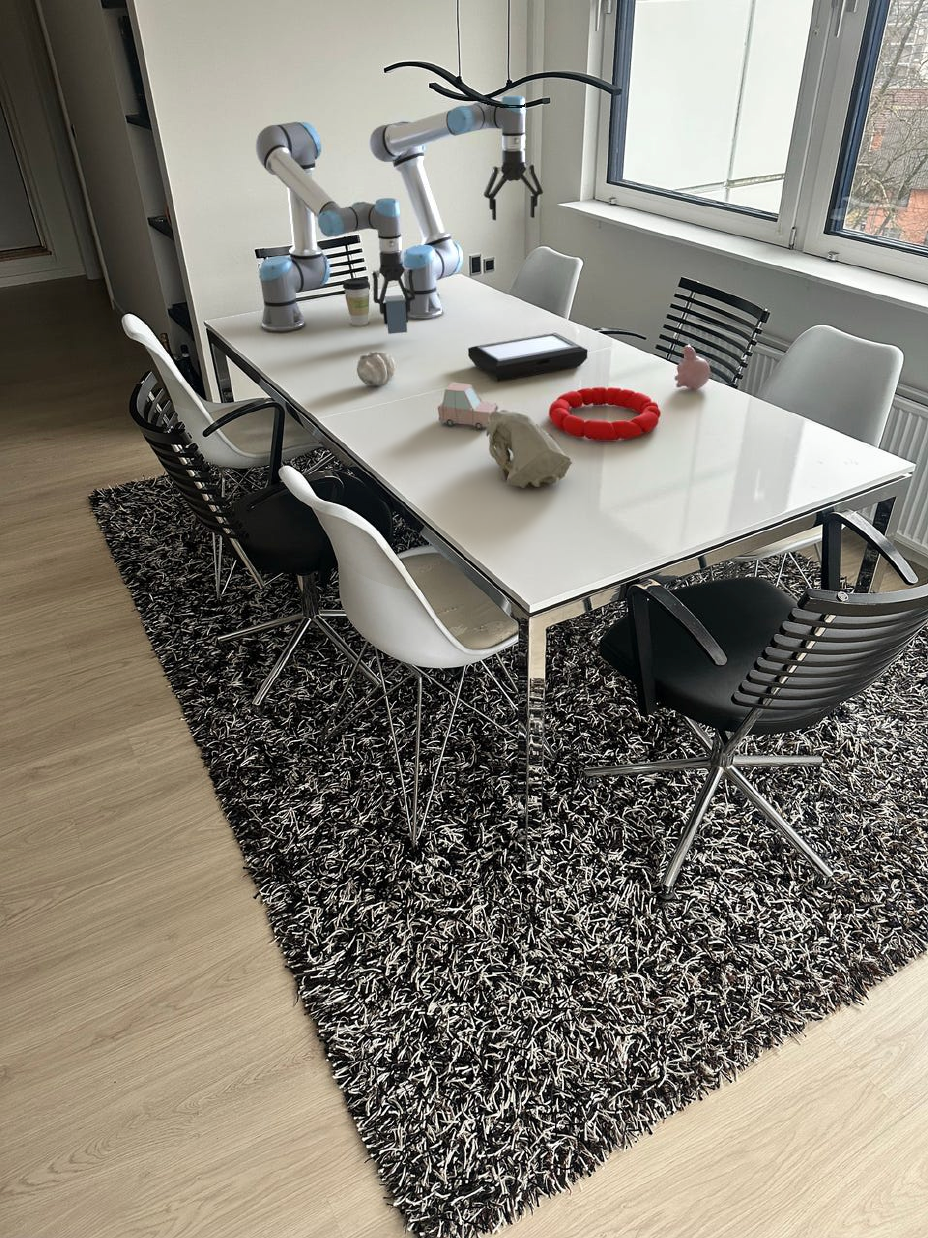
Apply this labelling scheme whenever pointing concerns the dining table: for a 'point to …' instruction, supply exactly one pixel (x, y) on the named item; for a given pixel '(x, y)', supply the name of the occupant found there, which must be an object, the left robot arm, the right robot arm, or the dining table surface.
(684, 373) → the figurine
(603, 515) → the dining table surface
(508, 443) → the animal skull
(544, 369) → the electronic device
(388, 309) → the block
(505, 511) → the dining table surface
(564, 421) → the decorative ring
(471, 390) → the toy car
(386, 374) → the seashell
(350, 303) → the coffee cup
